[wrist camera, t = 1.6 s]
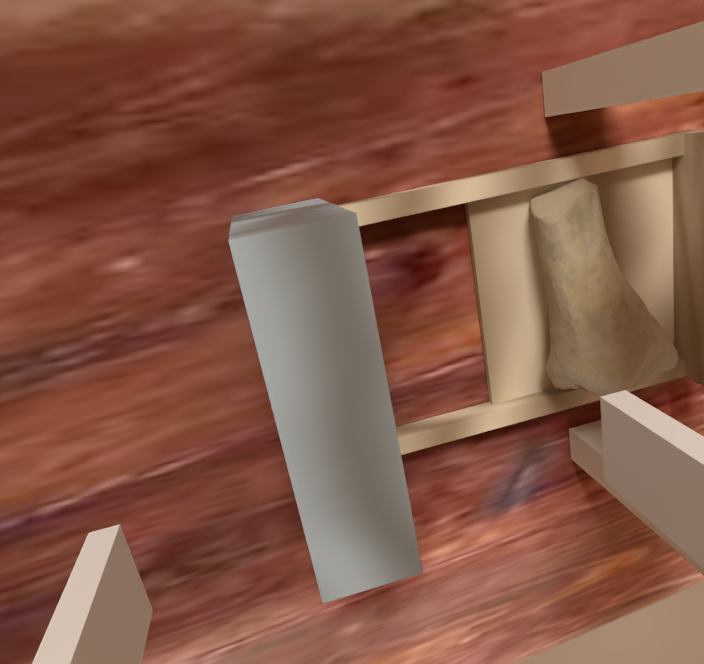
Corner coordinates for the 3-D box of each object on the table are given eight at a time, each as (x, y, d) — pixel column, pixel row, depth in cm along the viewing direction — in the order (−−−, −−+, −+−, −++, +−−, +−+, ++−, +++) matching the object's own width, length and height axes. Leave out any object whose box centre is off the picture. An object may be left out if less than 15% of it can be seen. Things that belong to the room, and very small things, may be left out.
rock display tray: (299, 479, 30) (322, 603, 21) (231, 216, 25) (228, 240, 17) (687, 372, 33) (844, 444, 24) (687, 119, 28) (879, 99, 20)
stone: (652, 348, 31) (721, 380, 27) (558, 412, 31) (612, 455, 27) (567, 173, 27) (631, 175, 23) (462, 247, 28) (505, 264, 23)
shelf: (531, 470, 32) (743, 690, 19) (491, 81, 26) (774, -14, 12) (655, 434, 33) (942, 618, 20) (647, 51, 27) (1067, -68, 13)
